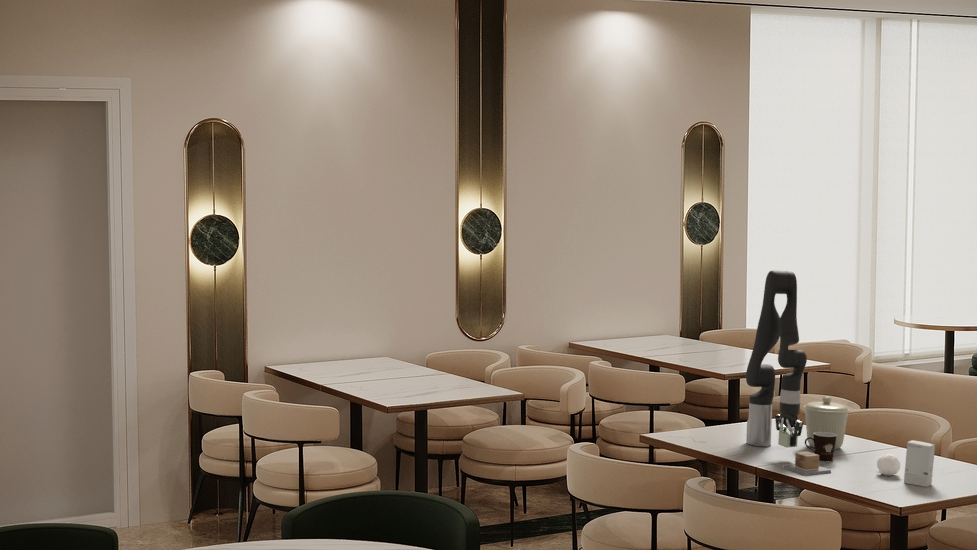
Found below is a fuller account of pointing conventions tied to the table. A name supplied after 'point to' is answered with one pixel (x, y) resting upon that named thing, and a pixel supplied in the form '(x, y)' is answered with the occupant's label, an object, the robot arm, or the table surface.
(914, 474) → the skincare box
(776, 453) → the table surface
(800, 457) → the walnut block
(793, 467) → the slate board
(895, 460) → the white rounded lump
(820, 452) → the coffee mug
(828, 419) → the canister
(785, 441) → the sage cube
